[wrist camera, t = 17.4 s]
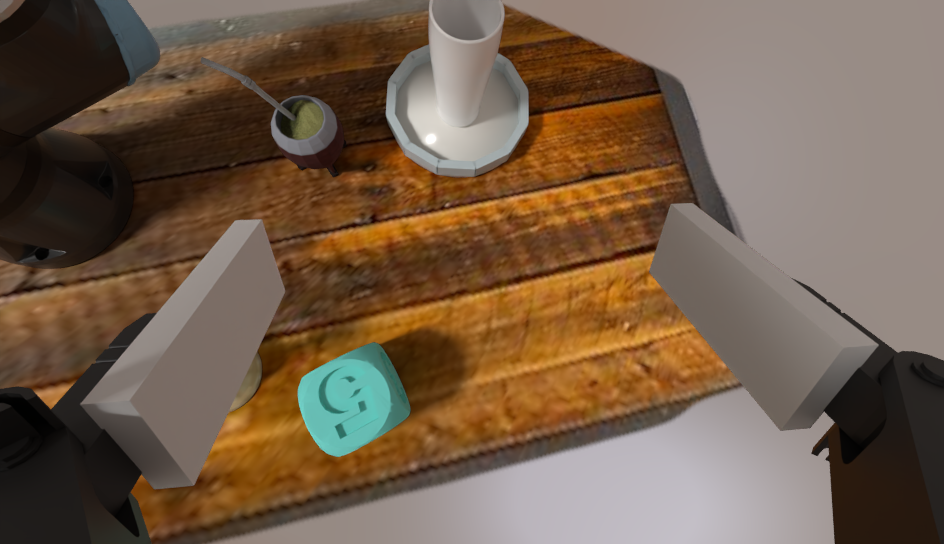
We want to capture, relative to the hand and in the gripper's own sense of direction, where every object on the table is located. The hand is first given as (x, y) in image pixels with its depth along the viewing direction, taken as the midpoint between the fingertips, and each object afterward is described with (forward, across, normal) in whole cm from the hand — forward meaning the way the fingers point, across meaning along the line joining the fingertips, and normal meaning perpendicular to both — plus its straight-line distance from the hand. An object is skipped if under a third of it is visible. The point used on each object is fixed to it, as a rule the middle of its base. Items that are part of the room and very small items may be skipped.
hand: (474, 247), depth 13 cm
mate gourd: (+38, -15, -9) cm, 41 cm away
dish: (+41, +2, -5) cm, 41 cm away
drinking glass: (+40, +2, -5) cm, 41 cm away
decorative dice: (+18, -10, -29) cm, 35 cm away
